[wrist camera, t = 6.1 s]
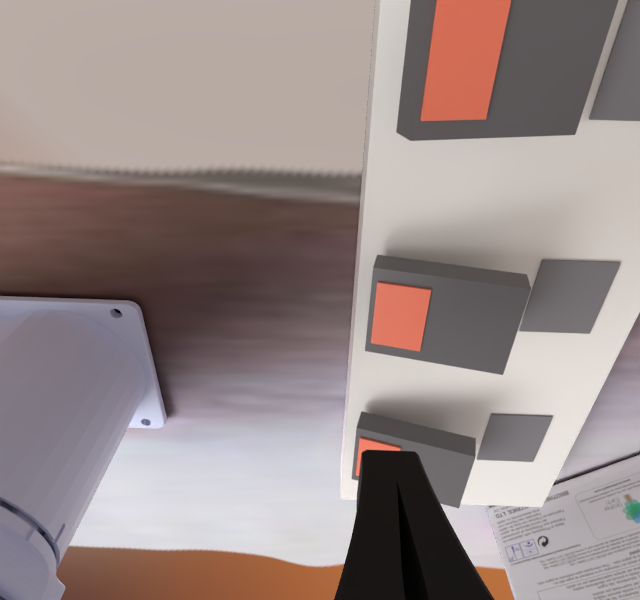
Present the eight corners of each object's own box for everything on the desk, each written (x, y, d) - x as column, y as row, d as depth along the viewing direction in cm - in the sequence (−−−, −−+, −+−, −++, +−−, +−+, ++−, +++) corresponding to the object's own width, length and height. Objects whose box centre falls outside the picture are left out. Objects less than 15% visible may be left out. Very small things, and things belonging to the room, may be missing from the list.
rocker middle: (368, 335, 18) (364, 352, 17) (377, 254, 16) (372, 269, 15) (500, 357, 17) (503, 376, 16) (527, 274, 15) (531, 291, 14)
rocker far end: (356, 462, 22) (350, 480, 21) (361, 411, 20) (355, 429, 19) (459, 489, 21) (458, 510, 20) (475, 438, 19) (475, 458, 18)
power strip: (340, 467, 26) (340, 501, 24) (417, -566, 9) (438, -712, 7) (528, 475, 26) (542, 508, 24) (987, -560, 9) (1157, -709, 7)
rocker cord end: (396, 132, 12) (412, 141, 11) (413, -30, 10) (434, -33, 9) (552, 127, 13) (577, 135, 12) (594, -20, 11) (629, -23, 11)
